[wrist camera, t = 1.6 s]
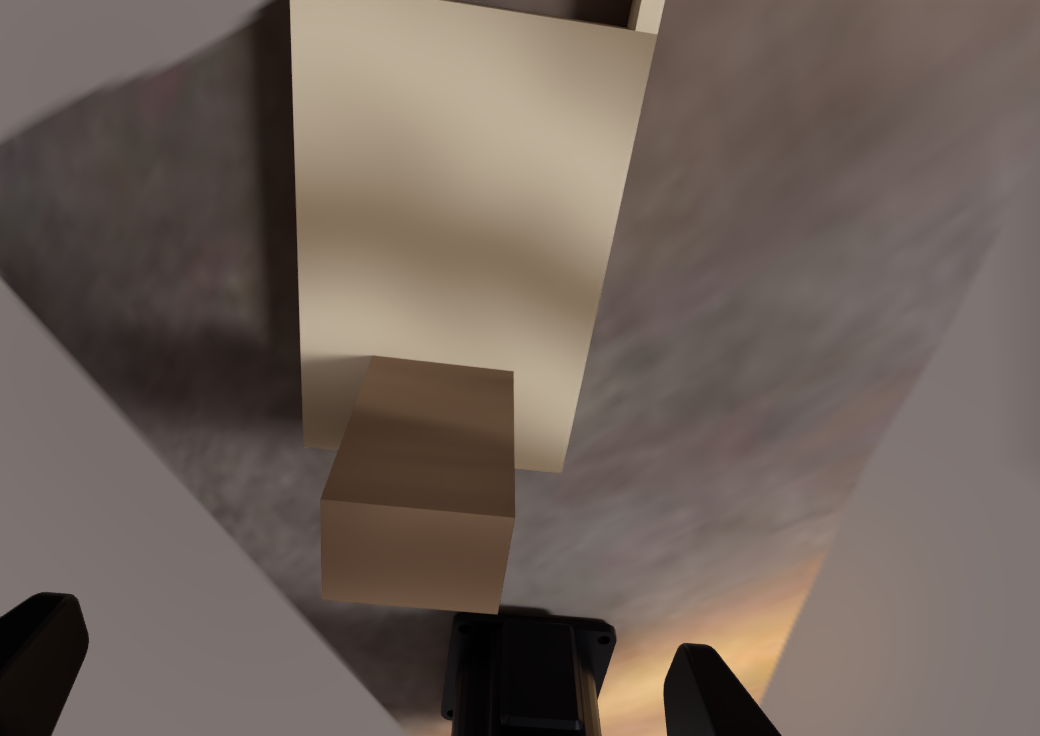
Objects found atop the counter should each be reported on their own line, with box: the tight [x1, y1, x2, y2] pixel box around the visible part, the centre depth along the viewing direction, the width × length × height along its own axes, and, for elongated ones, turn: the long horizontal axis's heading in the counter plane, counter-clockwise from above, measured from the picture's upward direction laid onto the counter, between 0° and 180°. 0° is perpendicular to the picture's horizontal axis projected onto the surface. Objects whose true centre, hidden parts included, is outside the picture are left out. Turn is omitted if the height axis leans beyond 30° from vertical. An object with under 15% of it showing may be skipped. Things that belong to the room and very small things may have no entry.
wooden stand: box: [290, 0, 665, 614], centre depth 13 cm, size 21×8×7 cm, turn 172°
